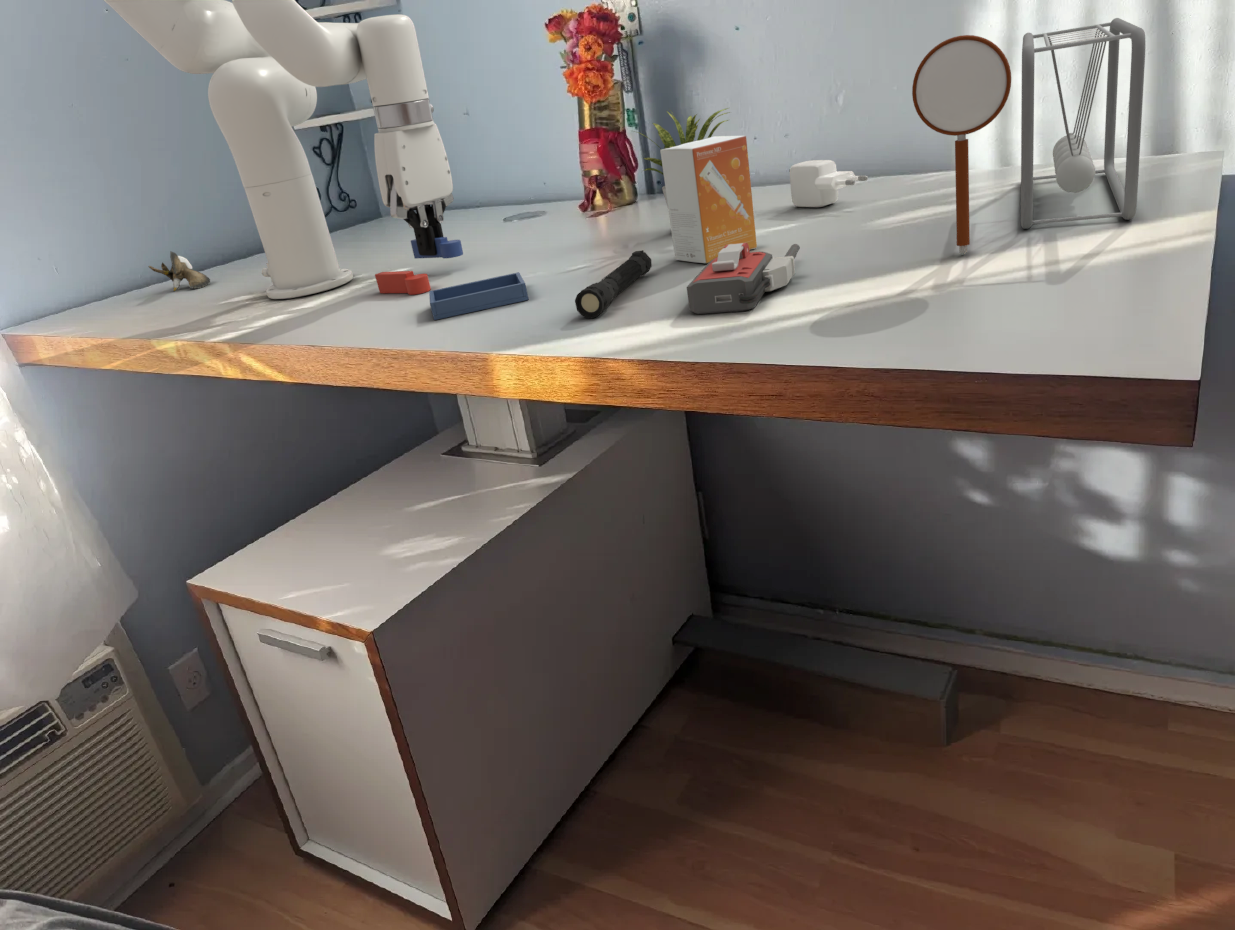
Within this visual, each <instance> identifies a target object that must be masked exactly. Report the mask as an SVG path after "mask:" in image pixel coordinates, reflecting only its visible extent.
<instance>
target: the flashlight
mask: <svg viewBox="0 0 1235 930" xmlns="http://www.w3.org/2000/svg"><path fill="white" fill-rule="evenodd" d="M652 266H653V265H652V258H651V257H650V256H649V255H648V254H647V253H646V252H644V250H635V251H633V252H632V253H631V255H630V256H629V257H628V259H627V260H626V261H625V262H623V263H621V265H619V266H618V267H616V268H615V269H614V270H612V271H611V272H610V273H608V274H607V275H606V276H604V277H603V278H602V279H601V280H600V281H599V282H594V283H591V284H590V285H588V286H586V287H585V288H584V289H581V290H580V292H578V293H577V294H576V296H575V299H574V304H575V308H576V311H577V312H578V314H579V315H580V316H582V317H584V318H586V319H595V318H597V317H598V316H600V315H601V314H602V313H604V311H605V310H606V309H607V308H608V307H609V306H610V305H611V304H612V302H613V299H615V298H616V297H617V296H618V295H620V294H621V293H622V292H624V290H625V289H627V288H628V287H629V286H630V285H632V284H633V283H634V282H635V281H636V280H638V279H640V277H642V276H645V275H646V274H648V273H650V270H651V268H652Z"/></svg>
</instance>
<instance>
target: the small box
mask: <svg viewBox="0 0 1235 930" xmlns="http://www.w3.org/2000/svg"><path fill="white" fill-rule="evenodd" d="M661 149H662V150H661ZM661 149H660V151H659V152H660V157H661V158H660V160H662V166H663V167H662V166H661V167H662V172H663V174H664V175H663V179H664V186H665V188H666V195H667V203H668V207H667V209H668V217H669V224H670V230H671V231H670V232H671V239H672V245H673V252H674V260H677V261H680V262H689V263H697V264H708V263H709V262H710V261H711V260H713V259H715V258H717V257H718V253H719V252H720V251H721V250H722V249H723V248H724V247H725V245H730V244H739V243H748V245H749V251H751V250H755V249H757V248H758V245H757V243H758V242H757V233H756V232H757V231H756V224H755V212H754V201H753V194H752V193H753V191H752V181H751V173H750V172H751V171H750V162H749V161H750V160H749V151H748V141H747V135H720V136H719V135H716V136H715V135H714V136H711V137H710V138H708V137H707V138H704V139H703V140H698V141H697V140H694V141H693V142H689V143H685V144H681V143H680V144H679V145H676V146H675V147H670V148H666V149H664V148H661ZM667 203H666V204H667Z"/></svg>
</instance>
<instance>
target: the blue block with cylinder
mask: <svg viewBox="0 0 1235 930" xmlns="http://www.w3.org/2000/svg"><path fill="white" fill-rule="evenodd" d="M461 241H462V240H460V239H451V240H449V239H448V236H443V237H440V238H435V244H436V249H437V255H434V256H421V255H420V254H419V251H418V247H417V242H416V238H415V239H411V240H410V245H411V250H412V253H413V257H414V259H436V258H437V259H439V258H440V259H441V258H442V259H454V258H457V257H461V256H463V255H464V251H463V245H462V242H461Z"/></svg>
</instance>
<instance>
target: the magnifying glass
mask: <svg viewBox="0 0 1235 930" xmlns="http://www.w3.org/2000/svg"><path fill="white" fill-rule="evenodd" d="M1011 87H1012V71H1011V66H1010V64H1009V60H1008V58H1007V56H1006V54H1005V53H1004V52H1003V51H1002V49H1001V48H1000V47H999V46H998V45H997V44H996V43H994V42H993V41H992V40H989V39H987V38H986V37H982V36H979V35H973V34H964V35H957V36H953V37H950V38H948V39H945V40H943V41H941V42H939V43H938V44H937V45H936V46H934V47H933V48H932V49H931V50H929V51H928V52H927V54H926V55H925V56H924V57H923V58H922V59H921V61H920V62H919V65H918V67H917V69H916V71H915V74H914V76H913V80H912V88H911V96H912V102H913V107H914V109H915V112H916V113H917V115H918V117H919V118H920V119H921V121H922V122H923V123H924V125H926V126H927V127H929V128H930V129H931V130H932V131H934V132H936V133H939V134H942V135H946V136H953V137H954V136H956V137H957V138H956V140H954V167H955V170H954V171H955V172H954V173H955V214H956V215H955V219H956V223H955V224H956V247H957V246H958V253H960V254H961V255H962V256H963V255H964V256H965V255H966V254H967V253H968V246H969V245H970V240H971V239H970V235H971V234H970V165H969V163H970V161H969V160H970V159H969V138H967V135H969V134H973V133H976V132H978V131H980V130H982V129H983V128H985V127H987V126H988V125H989V124H991V123H992V122H993V121H994V120H995V119H996V118H997V117H998V115H999V114H1000V113H1001V112H1002V110H1003V109H1004V107H1005V106H1006V103H1007V101H1008V99H1009V96H1010V92H1011Z"/></svg>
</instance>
